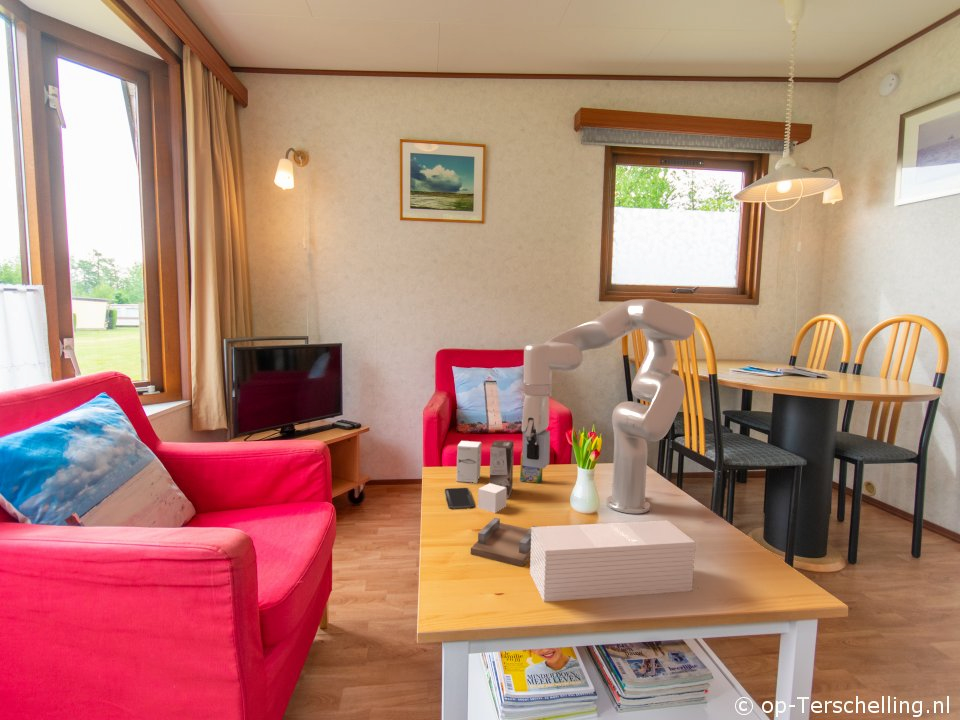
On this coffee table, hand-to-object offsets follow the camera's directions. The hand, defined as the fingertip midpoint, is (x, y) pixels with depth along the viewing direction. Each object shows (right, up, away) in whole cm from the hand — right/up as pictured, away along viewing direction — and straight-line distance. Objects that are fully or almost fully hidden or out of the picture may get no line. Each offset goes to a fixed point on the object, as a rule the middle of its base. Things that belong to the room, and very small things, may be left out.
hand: (536, 455), depth 130 cm
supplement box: (-19, -16, +35) cm, 43 cm away
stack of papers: (+12, -22, -28) cm, 37 cm away
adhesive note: (-12, -18, +11) cm, 24 cm away
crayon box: (+2, -16, +34) cm, 38 cm away
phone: (-22, -17, +17) cm, 32 cm away
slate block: (0, -3, 0) cm, 3 cm away
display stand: (-8, -20, -13) cm, 25 cm away
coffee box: (-8, -17, +23) cm, 29 cm away
